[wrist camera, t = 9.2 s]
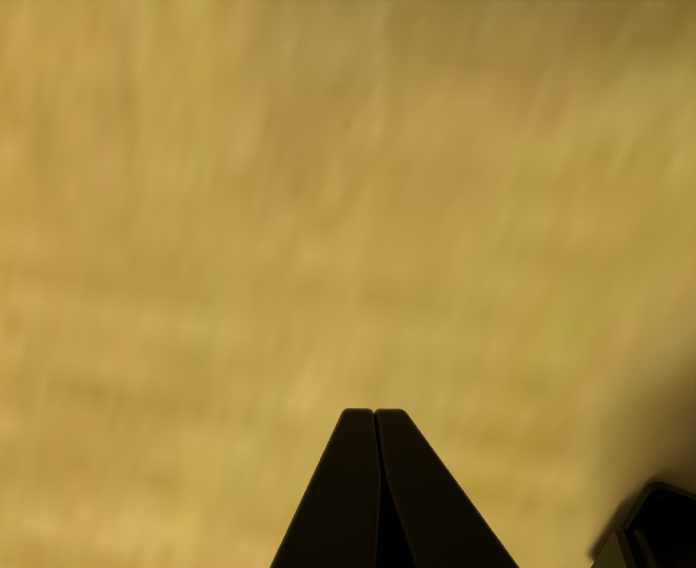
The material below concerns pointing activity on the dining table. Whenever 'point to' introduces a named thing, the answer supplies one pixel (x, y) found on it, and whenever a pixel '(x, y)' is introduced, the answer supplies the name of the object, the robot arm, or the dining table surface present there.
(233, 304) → the dining table surface
